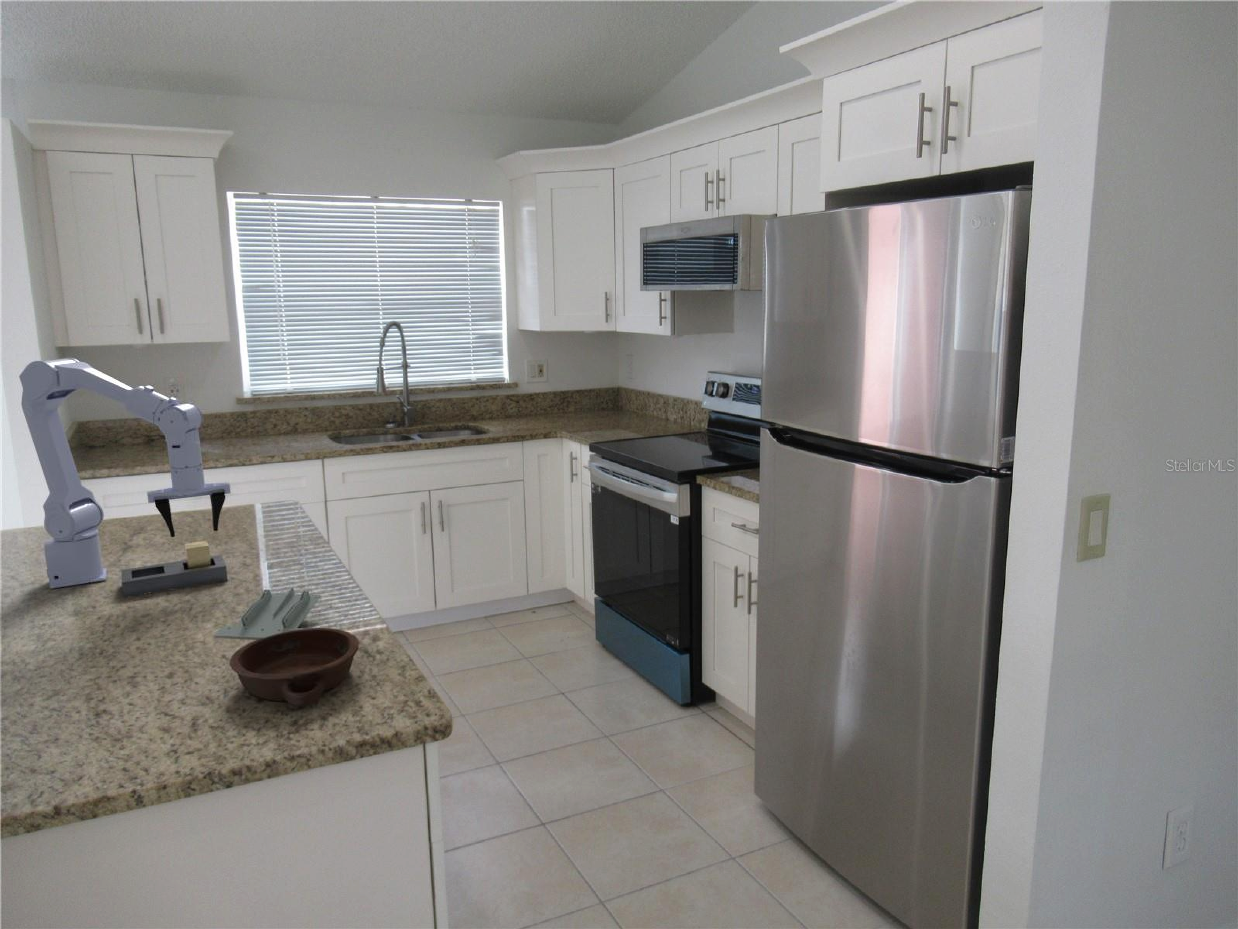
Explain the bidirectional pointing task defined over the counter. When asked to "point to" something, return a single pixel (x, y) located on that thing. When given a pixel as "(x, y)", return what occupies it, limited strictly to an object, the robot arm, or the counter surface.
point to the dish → (295, 664)
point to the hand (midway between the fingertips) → (194, 533)
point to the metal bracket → (271, 615)
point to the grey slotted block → (171, 576)
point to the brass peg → (197, 555)
